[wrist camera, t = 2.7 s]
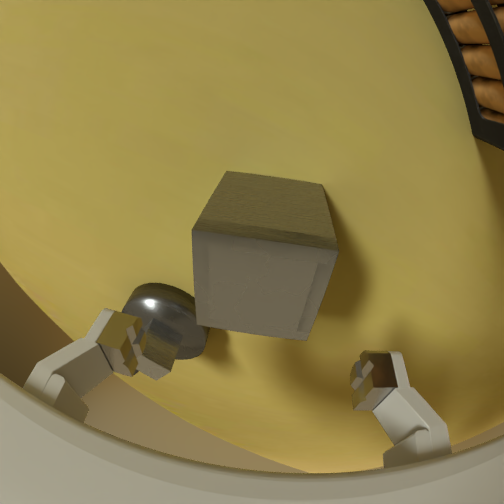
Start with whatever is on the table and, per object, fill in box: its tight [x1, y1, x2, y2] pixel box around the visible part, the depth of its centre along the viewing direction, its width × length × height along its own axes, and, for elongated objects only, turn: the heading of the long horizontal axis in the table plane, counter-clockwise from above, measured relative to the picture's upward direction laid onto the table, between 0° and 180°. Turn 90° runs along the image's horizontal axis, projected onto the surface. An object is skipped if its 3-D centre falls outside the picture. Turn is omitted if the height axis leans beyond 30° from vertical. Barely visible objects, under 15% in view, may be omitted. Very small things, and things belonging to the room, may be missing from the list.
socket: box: [192, 171, 339, 341], centre depth 13 cm, size 5×5×6 cm
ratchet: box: [122, 283, 210, 380], centre depth 22 cm, size 16×7×5 cm, turn 139°
